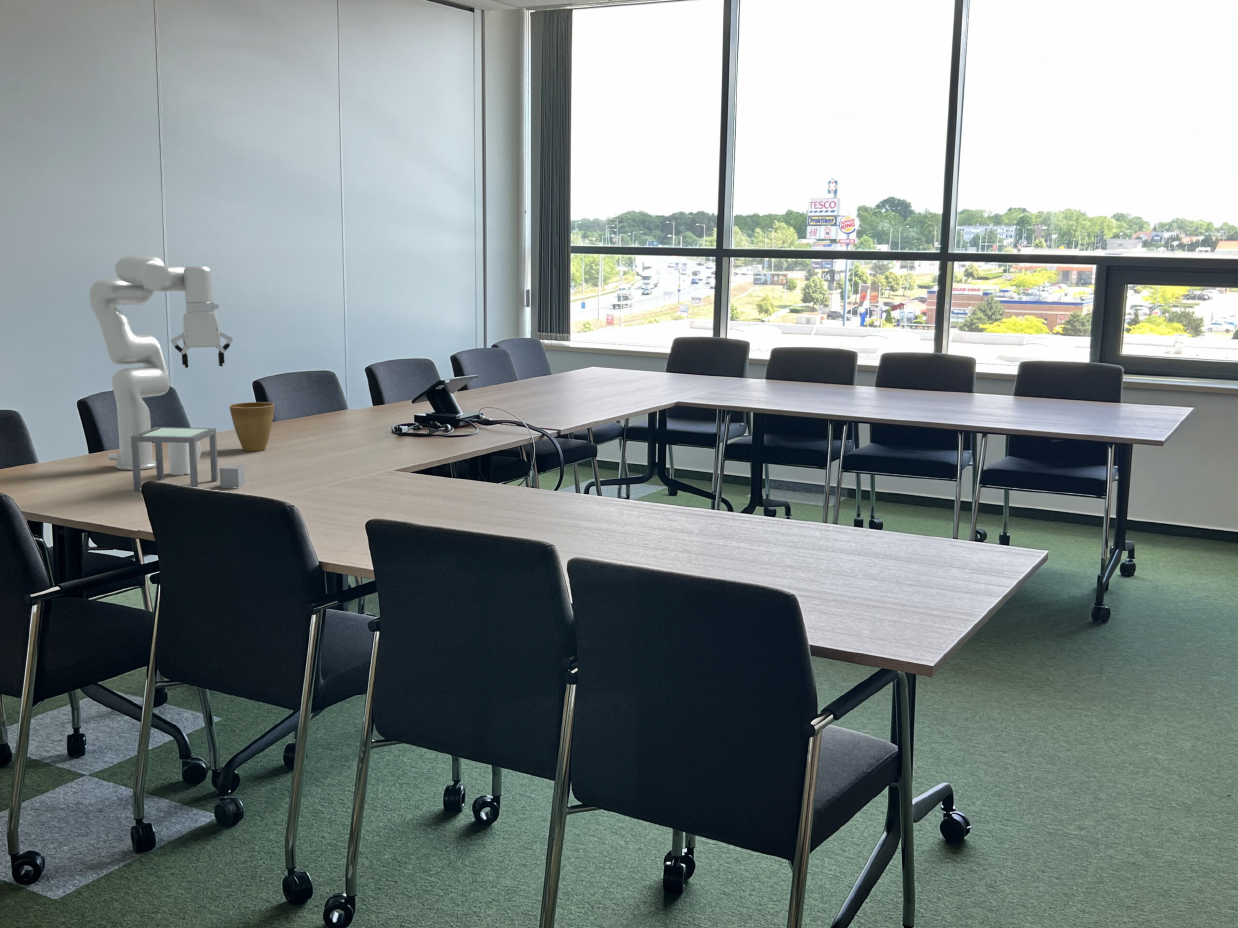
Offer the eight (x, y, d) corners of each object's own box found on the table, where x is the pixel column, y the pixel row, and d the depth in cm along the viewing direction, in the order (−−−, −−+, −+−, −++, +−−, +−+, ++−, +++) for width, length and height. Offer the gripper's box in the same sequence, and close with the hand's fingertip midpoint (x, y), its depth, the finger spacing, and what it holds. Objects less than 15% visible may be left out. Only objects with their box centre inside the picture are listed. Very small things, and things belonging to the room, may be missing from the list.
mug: (174, 476, 352) (172, 438, 350) (166, 473, 357) (163, 435, 355) (206, 472, 359) (204, 435, 357) (197, 469, 364) (196, 432, 362)
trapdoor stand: (134, 490, 331) (130, 436, 328) (159, 478, 348) (156, 427, 345) (196, 492, 331) (193, 437, 328) (218, 480, 348) (215, 428, 345)
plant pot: (275, 445, 410) (273, 401, 407) (276, 452, 396) (274, 406, 393) (231, 446, 405) (229, 402, 402) (231, 454, 391) (229, 407, 388)
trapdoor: (141, 439, 330) (141, 435, 330) (161, 431, 344) (161, 428, 343) (189, 440, 330) (189, 436, 330) (207, 432, 344) (207, 429, 343)
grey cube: (220, 488, 338) (219, 468, 337) (226, 484, 343) (226, 464, 342) (238, 488, 338) (238, 468, 336) (245, 484, 343) (244, 465, 342)
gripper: (228, 307, 343) (232, 364, 346) (167, 309, 336) (171, 367, 339) (232, 308, 336) (235, 366, 339) (169, 309, 329) (173, 369, 332)
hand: (203, 366), depth 339 cm, fingers open, 9 cm apart
